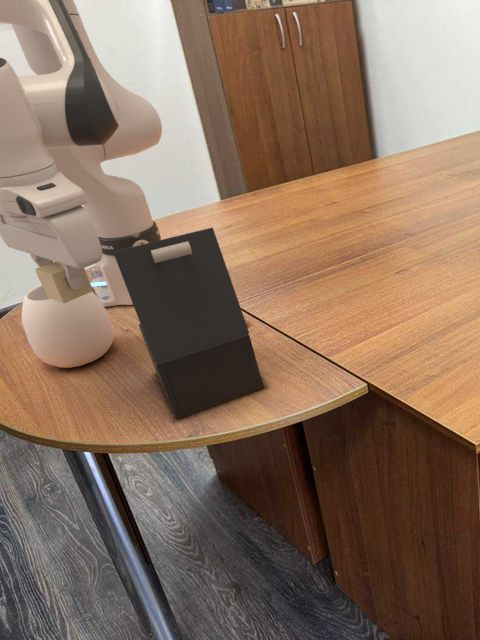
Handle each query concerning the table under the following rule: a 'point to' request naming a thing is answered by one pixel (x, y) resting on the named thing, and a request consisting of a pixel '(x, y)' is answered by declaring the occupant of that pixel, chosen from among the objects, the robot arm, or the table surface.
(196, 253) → the lid
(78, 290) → the block
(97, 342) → the cream round vase
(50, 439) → the table surface
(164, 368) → the dark grey box
